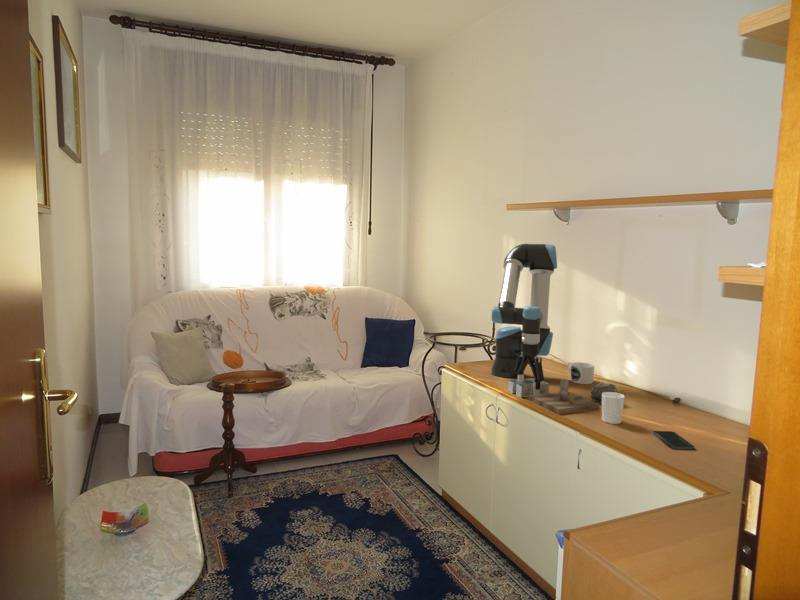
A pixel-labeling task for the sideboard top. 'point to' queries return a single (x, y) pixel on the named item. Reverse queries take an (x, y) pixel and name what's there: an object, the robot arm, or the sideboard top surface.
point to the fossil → (601, 391)
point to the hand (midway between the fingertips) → (527, 392)
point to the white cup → (612, 407)
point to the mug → (581, 372)
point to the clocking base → (564, 401)
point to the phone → (673, 440)
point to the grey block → (526, 387)
